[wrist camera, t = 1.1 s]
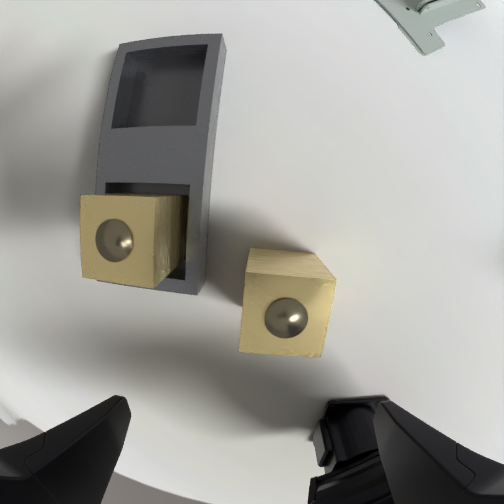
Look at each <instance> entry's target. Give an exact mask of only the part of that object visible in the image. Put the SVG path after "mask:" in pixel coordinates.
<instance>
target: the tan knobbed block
mask: <svg viewBox="0 0 504 504" xmlns="http://www.w3.org/2000/svg"><path fill="white" fill-rule="evenodd" d="M336 282H337V279H336V278H335V277H334V276H333V275H332V273H331V272H330V271H329V270H328V269H327V267H326V266H325V265H324V264H323V263H322V261H321V260H320V259H319V258H318V257H317V255H316V254H313V253H302V252H292V251H281V250H271V249H260V248H250V251H249V256H248V262H247V267H246V272H245V283H244V295H243V306H242V318H241V330H240V342H239V352H246V353H257V354H270V355H285V356H305V357H321V354H322V350H323V346H324V341H325V337H326V332H327V328H328V323H329V318H330V313H331V308H332V303H333V298H334V293H335V287H336Z"/></svg>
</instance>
